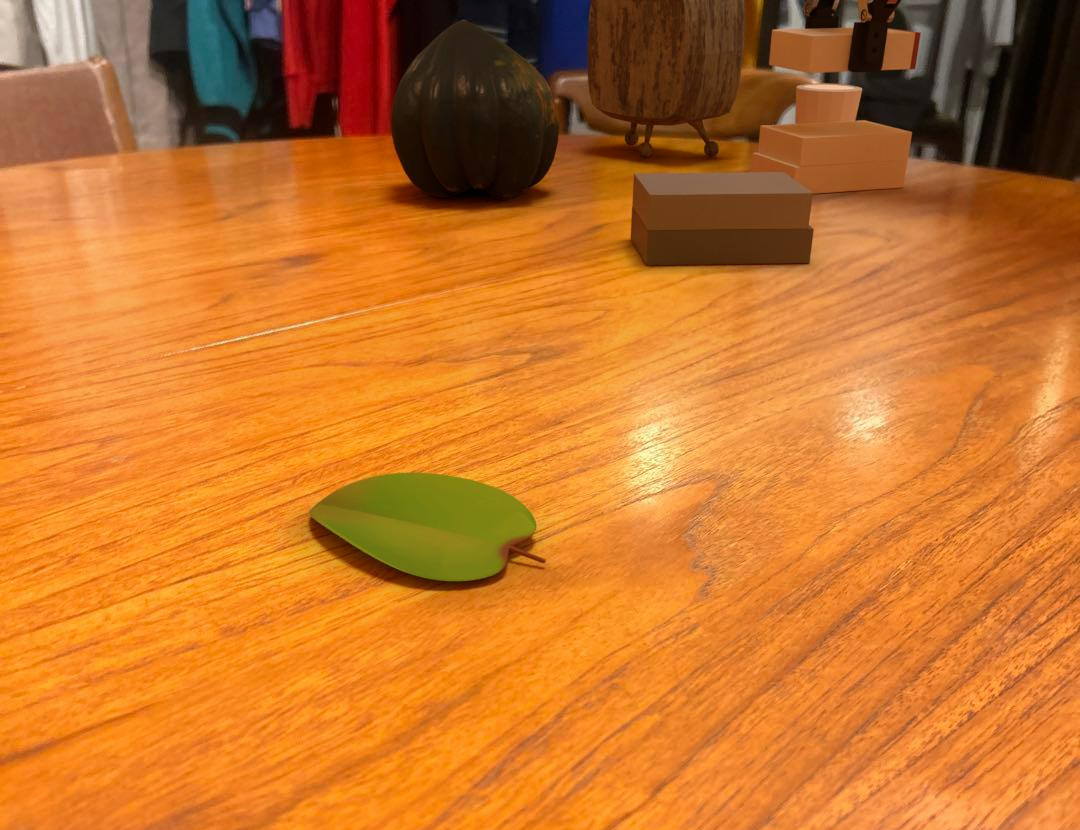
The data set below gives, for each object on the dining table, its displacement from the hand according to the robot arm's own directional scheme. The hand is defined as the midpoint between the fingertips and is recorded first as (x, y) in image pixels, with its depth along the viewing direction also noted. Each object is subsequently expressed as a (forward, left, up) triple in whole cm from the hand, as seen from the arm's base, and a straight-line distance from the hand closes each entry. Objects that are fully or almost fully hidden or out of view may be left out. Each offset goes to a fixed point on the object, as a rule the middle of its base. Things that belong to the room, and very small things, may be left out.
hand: (840, 65), depth 100 cm
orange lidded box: (0, 0, -10) cm, 10 cm away
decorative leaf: (+37, +69, -10) cm, 79 cm away
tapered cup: (-4, -15, -11) cm, 19 cm away
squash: (+34, +3, -11) cm, 36 cm away
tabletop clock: (+14, -16, -11) cm, 24 cm away
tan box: (0, 0, 0) cm, 0 cm away
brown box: (+16, +25, -10) cm, 32 cm away
